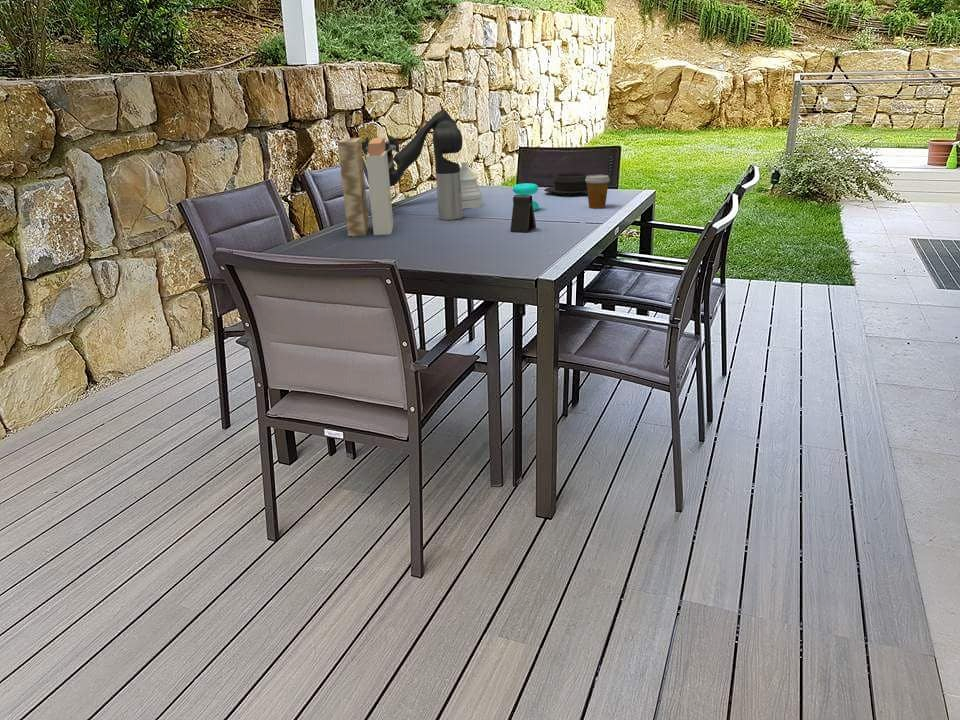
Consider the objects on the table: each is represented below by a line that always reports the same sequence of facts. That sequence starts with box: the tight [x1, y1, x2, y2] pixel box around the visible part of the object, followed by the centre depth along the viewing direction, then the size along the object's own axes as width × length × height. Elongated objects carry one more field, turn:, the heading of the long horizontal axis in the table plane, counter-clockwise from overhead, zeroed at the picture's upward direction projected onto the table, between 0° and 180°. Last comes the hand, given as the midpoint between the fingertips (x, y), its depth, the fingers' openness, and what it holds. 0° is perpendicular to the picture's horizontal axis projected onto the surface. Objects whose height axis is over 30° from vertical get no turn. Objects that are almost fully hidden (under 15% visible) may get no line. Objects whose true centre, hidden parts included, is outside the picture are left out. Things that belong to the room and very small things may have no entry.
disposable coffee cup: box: [585, 174, 611, 210], centre depth 292 cm, size 10×10×12 cm
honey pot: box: [460, 161, 483, 210], centre depth 307 cm, size 13×13×18 cm
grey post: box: [365, 151, 394, 236], centre depth 265 cm, size 6×16×27 cm, turn 3°
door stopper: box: [510, 194, 537, 234], centre depth 257 cm, size 9×6×12 cm, turn 153°
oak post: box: [337, 137, 370, 237], centre depth 264 cm, size 6×16×32 cm, turn 3°
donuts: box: [512, 182, 539, 212], centre depth 293 cm, size 10×10×10 cm
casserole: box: [543, 171, 590, 197], centre depth 326 cm, size 25×19×8 cm
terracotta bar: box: [368, 137, 386, 156], centre depth 264 cm, size 4×24×4 cm, turn 3°
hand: (378, 138), depth 279 cm, fingers open, 8 cm apart
